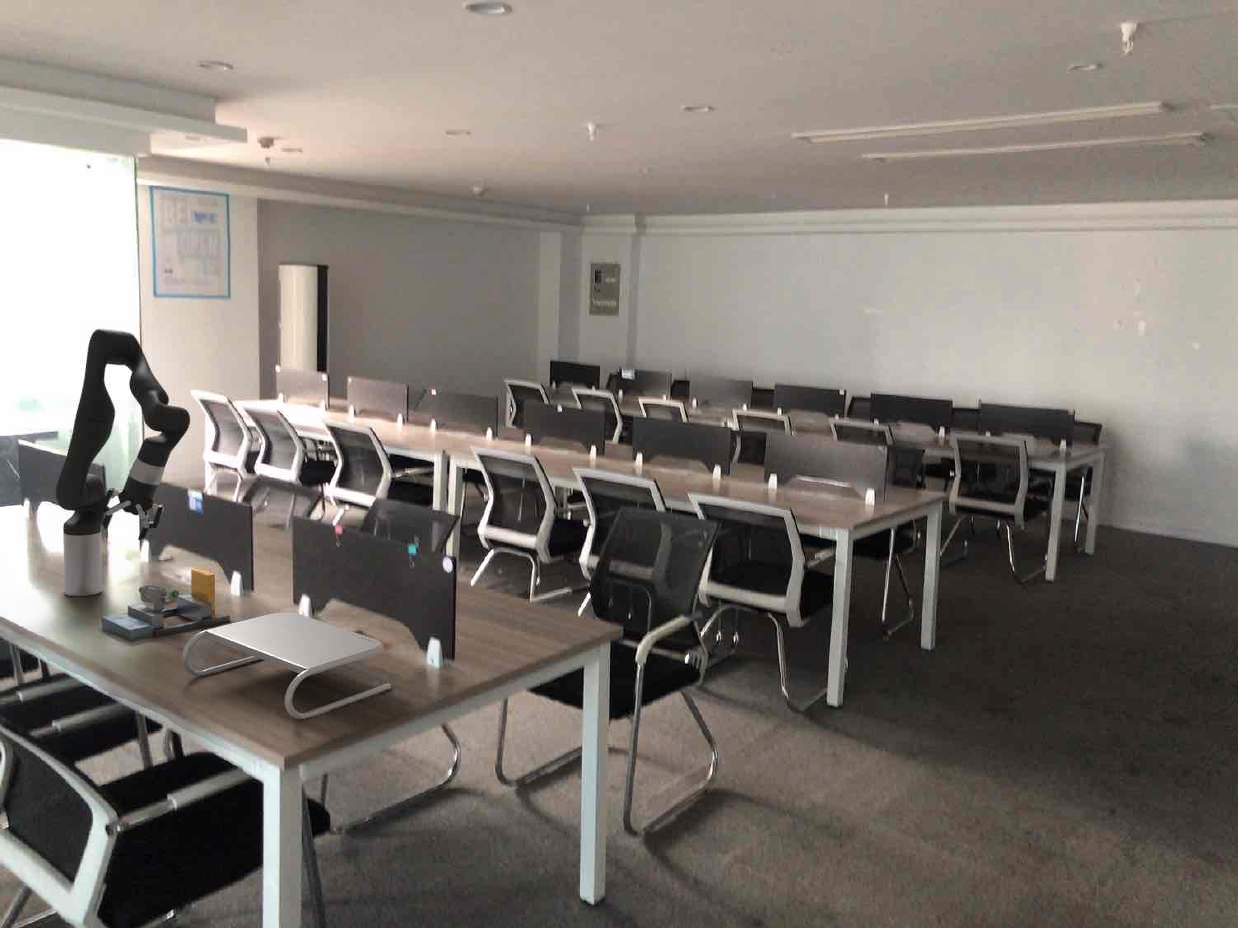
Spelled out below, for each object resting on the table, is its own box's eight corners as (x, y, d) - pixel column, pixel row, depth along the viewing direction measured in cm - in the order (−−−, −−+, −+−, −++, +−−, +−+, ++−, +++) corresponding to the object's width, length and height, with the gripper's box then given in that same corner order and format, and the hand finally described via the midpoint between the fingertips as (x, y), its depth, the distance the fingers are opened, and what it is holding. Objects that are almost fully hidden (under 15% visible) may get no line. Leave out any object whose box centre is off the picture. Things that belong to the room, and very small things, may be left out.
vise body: (100, 627, 250) (100, 608, 249) (197, 607, 270) (197, 590, 270) (131, 642, 240) (131, 622, 240) (229, 620, 261) (229, 602, 260)
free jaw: (176, 613, 264) (176, 569, 262) (194, 609, 268) (194, 566, 266) (201, 623, 257) (201, 578, 255) (219, 620, 261) (219, 575, 259)
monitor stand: (392, 690, 221) (393, 643, 220) (287, 728, 198) (288, 676, 197) (286, 651, 242) (287, 608, 240) (180, 682, 219) (179, 634, 217)
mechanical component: (173, 629, 251) (173, 591, 250) (137, 625, 253) (137, 587, 252) (180, 626, 254) (180, 588, 253) (145, 621, 256) (144, 584, 255)
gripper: (176, 483, 260) (154, 538, 262) (119, 463, 255) (97, 519, 257) (170, 491, 253) (147, 547, 255) (112, 470, 248) (89, 528, 250)
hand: (122, 533), depth 256 cm, fingers open, 8 cm apart
